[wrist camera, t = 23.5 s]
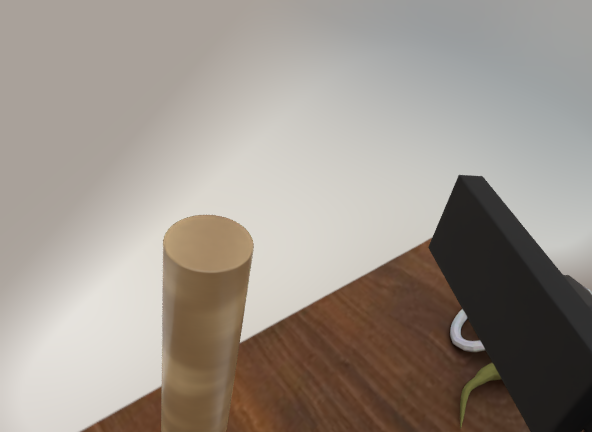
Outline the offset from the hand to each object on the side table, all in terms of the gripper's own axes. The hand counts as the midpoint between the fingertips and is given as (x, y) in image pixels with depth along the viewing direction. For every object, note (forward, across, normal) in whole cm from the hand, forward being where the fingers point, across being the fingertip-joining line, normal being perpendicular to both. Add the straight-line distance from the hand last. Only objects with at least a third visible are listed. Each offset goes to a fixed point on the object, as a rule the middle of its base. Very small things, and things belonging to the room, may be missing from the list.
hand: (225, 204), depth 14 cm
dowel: (+5, 0, -33) cm, 34 cm away
